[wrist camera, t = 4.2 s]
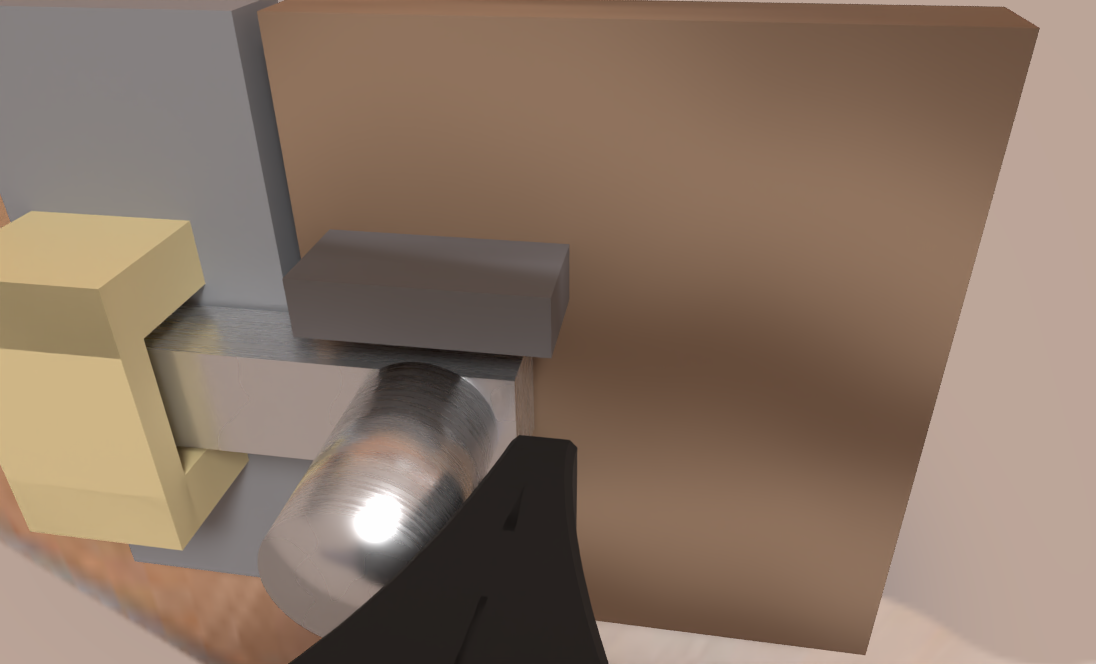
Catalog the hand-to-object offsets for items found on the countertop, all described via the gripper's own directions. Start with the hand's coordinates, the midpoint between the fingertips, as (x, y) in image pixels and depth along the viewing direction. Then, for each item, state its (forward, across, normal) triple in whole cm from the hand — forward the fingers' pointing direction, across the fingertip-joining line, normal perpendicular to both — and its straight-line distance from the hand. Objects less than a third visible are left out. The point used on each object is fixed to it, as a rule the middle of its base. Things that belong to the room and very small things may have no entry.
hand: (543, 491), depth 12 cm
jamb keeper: (+4, +8, 0) cm, 9 cm away
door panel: (+4, -1, 0) cm, 4 cm away
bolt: (+3, +5, 0) cm, 6 cm away
